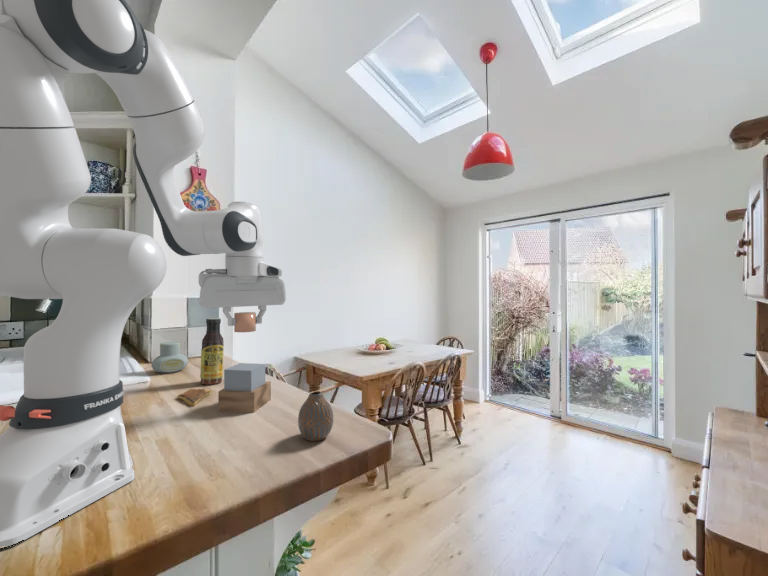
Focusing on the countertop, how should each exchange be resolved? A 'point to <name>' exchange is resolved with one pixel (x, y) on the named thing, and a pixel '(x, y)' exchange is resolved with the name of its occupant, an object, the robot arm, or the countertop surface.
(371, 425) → the countertop surface
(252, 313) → the peach pillar candle
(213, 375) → the sauce bottle
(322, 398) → the vase
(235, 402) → the base block
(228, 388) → the top block
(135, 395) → the countertop surface
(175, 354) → the air freshener
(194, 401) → the toasted sandwich
